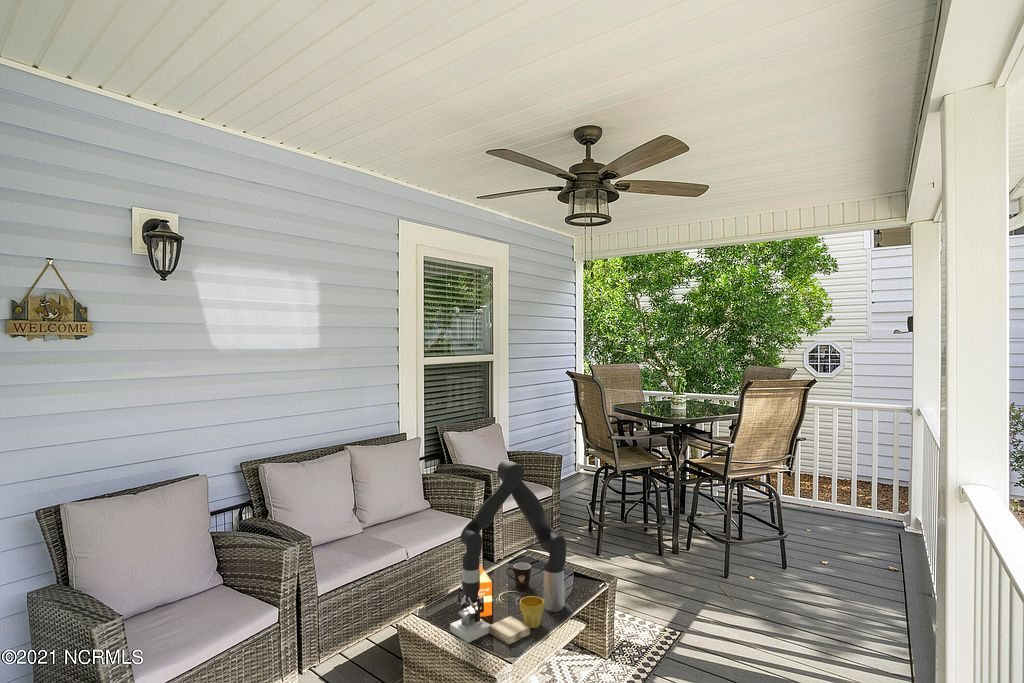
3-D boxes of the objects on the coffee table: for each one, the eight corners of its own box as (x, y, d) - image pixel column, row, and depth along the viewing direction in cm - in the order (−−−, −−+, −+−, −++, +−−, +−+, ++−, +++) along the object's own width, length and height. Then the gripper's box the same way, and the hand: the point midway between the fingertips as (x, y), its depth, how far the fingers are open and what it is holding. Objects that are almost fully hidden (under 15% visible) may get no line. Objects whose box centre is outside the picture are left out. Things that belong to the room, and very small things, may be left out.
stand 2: (510, 622, 229) (510, 615, 229) (530, 633, 221) (530, 626, 221) (489, 633, 221) (489, 625, 221) (508, 644, 212) (509, 637, 212)
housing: (475, 618, 227) (475, 604, 227) (482, 622, 223) (483, 608, 223) (458, 625, 221) (458, 611, 221) (465, 630, 217) (466, 615, 217)
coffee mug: (534, 585, 266) (534, 565, 266) (525, 591, 259) (525, 571, 259) (514, 579, 272) (514, 559, 272) (505, 586, 265) (505, 565, 265)
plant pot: (529, 615, 236) (529, 593, 236) (548, 623, 229) (549, 600, 229) (514, 625, 228) (514, 601, 228) (534, 633, 221) (534, 609, 221)
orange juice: (486, 605, 244) (486, 561, 245) (492, 615, 236) (492, 569, 236) (469, 608, 242) (470, 563, 242) (474, 617, 233) (475, 571, 234)
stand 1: (472, 621, 231) (472, 614, 231) (490, 632, 222) (490, 624, 222) (450, 631, 222) (450, 623, 222) (468, 642, 214) (468, 635, 214)
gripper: (489, 581, 220) (488, 621, 219) (467, 570, 230) (466, 608, 230) (474, 586, 215) (474, 627, 214) (453, 575, 225) (452, 614, 225)
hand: (470, 617), depth 222 cm, fingers open, 8 cm apart
